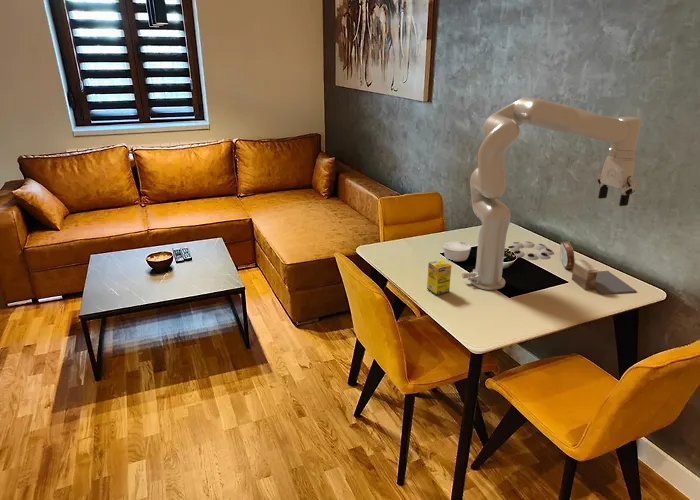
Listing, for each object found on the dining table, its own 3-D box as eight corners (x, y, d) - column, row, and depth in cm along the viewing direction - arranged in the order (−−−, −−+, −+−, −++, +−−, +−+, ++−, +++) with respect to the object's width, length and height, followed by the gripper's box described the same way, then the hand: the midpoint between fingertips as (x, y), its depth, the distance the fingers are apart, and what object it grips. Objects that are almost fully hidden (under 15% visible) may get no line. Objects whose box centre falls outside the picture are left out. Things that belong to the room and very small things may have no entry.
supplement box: (436, 296, 174) (438, 268, 169) (426, 289, 179) (427, 262, 174) (449, 292, 176) (451, 264, 172) (439, 286, 181) (441, 259, 177)
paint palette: (505, 241, 222) (505, 237, 221) (551, 245, 217) (552, 241, 216) (505, 258, 205) (506, 254, 204) (556, 263, 200) (556, 258, 199)
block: (584, 290, 176) (588, 270, 173) (571, 279, 185) (574, 260, 182) (593, 289, 177) (597, 269, 174) (580, 278, 185) (583, 259, 182)
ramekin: (475, 258, 204) (476, 246, 202) (456, 265, 198) (457, 253, 196) (456, 250, 213) (456, 239, 211) (437, 256, 207) (437, 244, 205)
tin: (573, 272, 191) (576, 252, 187) (564, 271, 191) (568, 251, 188) (565, 257, 204) (568, 238, 201) (557, 256, 205) (560, 237, 201)
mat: (601, 294, 173) (601, 293, 173) (575, 274, 189) (576, 272, 189) (636, 292, 174) (636, 290, 174) (607, 272, 190) (607, 270, 190)
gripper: (594, 150, 175) (586, 196, 182) (633, 159, 160) (623, 209, 167) (611, 148, 177) (602, 194, 184) (651, 158, 162) (640, 207, 169)
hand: (612, 201), depth 175 cm, fingers open, 9 cm apart
